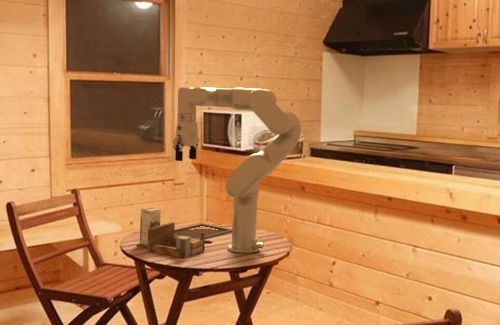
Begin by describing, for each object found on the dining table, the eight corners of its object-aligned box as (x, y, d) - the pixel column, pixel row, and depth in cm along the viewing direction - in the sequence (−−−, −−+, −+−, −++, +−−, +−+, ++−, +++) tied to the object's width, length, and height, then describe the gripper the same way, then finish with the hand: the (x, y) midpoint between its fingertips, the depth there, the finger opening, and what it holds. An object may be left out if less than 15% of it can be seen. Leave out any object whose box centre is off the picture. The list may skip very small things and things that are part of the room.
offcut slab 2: (202, 252, 227) (202, 246, 227) (192, 256, 222) (192, 249, 222) (192, 250, 230) (192, 244, 230) (182, 253, 224) (182, 247, 224)
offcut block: (190, 254, 222) (190, 236, 221) (185, 257, 218) (185, 239, 218) (181, 253, 223) (181, 235, 223) (176, 255, 220) (176, 237, 219)
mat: (161, 245, 235) (161, 243, 235) (150, 248, 229) (150, 247, 229) (147, 242, 238) (147, 241, 238) (136, 246, 232) (136, 244, 232)
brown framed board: (160, 232, 253) (206, 222, 276) (160, 236, 253) (206, 225, 277) (192, 239, 241) (237, 228, 265) (192, 243, 241) (237, 232, 265)
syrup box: (150, 241, 238) (150, 206, 236) (160, 244, 234) (160, 208, 233) (139, 243, 233) (140, 208, 232) (149, 246, 230) (150, 210, 228)
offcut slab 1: (202, 246, 227) (202, 239, 227) (193, 249, 222) (193, 243, 221) (192, 244, 230) (192, 238, 229) (182, 247, 224) (182, 241, 224)
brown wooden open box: (205, 249, 230) (206, 227, 229) (182, 258, 216) (183, 234, 215) (171, 243, 238) (172, 222, 237) (147, 251, 224) (148, 228, 223)
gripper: (181, 118, 226) (181, 162, 228) (206, 118, 241) (205, 159, 243) (166, 117, 230) (165, 160, 232) (191, 117, 245) (190, 157, 247)
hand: (185, 159), depth 238 cm, fingers open, 9 cm apart
